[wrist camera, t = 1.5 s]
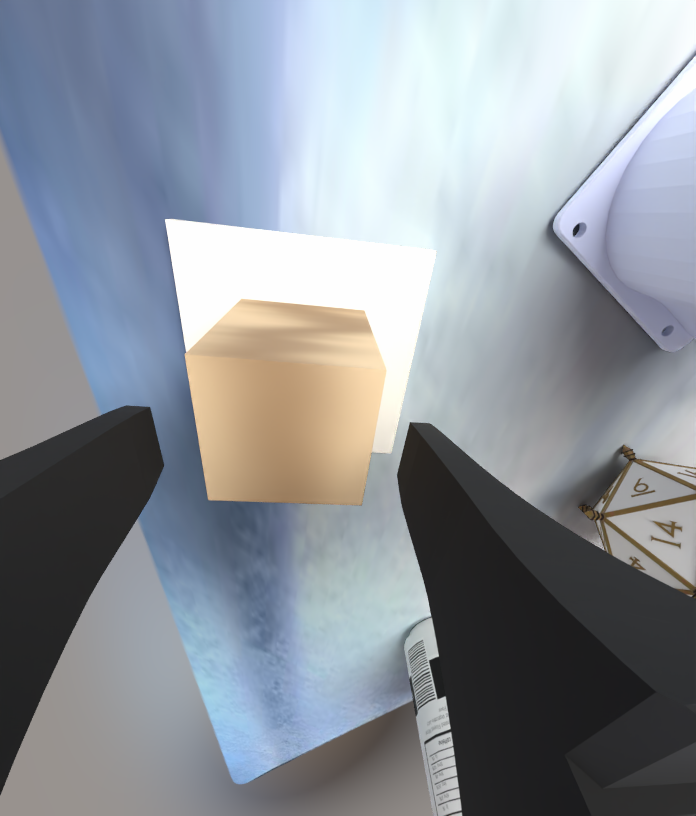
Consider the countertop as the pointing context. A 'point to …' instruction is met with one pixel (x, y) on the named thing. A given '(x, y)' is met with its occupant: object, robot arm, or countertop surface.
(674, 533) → the game die
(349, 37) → the countertop surface
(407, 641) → the supplement can
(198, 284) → the tile
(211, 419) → the oak cube
